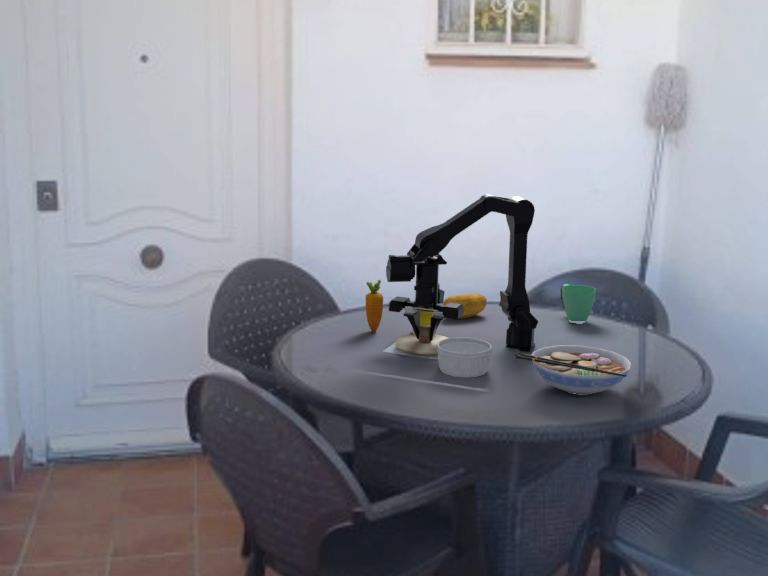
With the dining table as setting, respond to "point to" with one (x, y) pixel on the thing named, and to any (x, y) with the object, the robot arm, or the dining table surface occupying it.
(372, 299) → the carrot
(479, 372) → the ramekin
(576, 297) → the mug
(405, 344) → the lid
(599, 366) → the ramen bowl
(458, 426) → the dining table surface
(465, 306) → the potato
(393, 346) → the mat
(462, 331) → the dining table surface
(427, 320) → the supplement bottle
